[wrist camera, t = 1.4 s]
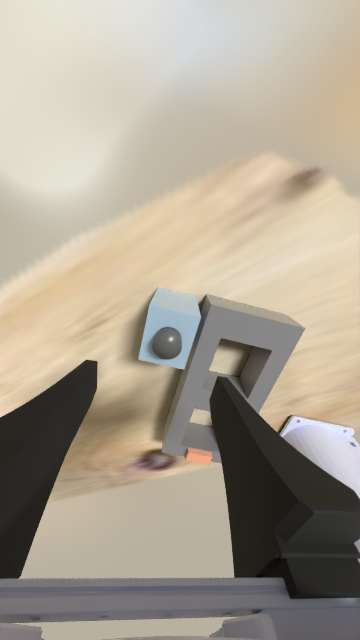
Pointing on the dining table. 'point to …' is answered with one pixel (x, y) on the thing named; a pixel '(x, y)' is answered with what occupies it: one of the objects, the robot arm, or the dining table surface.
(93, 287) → the dining table surface
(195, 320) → the plug
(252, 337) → the grey slotted tray
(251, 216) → the dining table surface
